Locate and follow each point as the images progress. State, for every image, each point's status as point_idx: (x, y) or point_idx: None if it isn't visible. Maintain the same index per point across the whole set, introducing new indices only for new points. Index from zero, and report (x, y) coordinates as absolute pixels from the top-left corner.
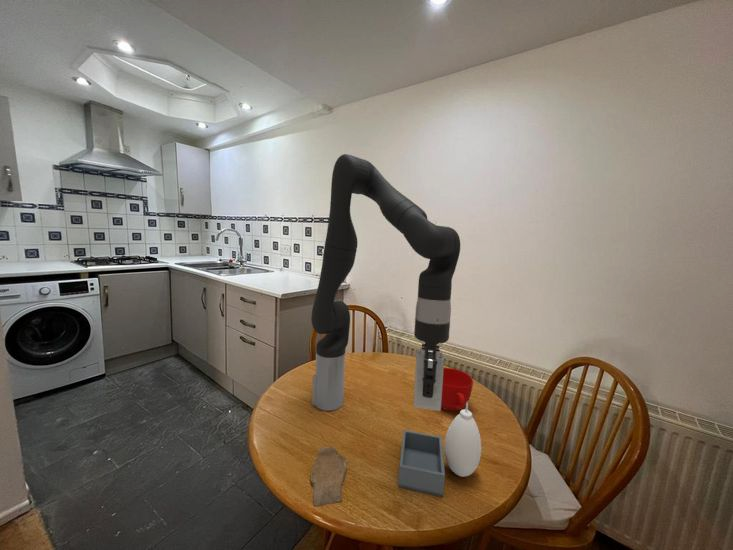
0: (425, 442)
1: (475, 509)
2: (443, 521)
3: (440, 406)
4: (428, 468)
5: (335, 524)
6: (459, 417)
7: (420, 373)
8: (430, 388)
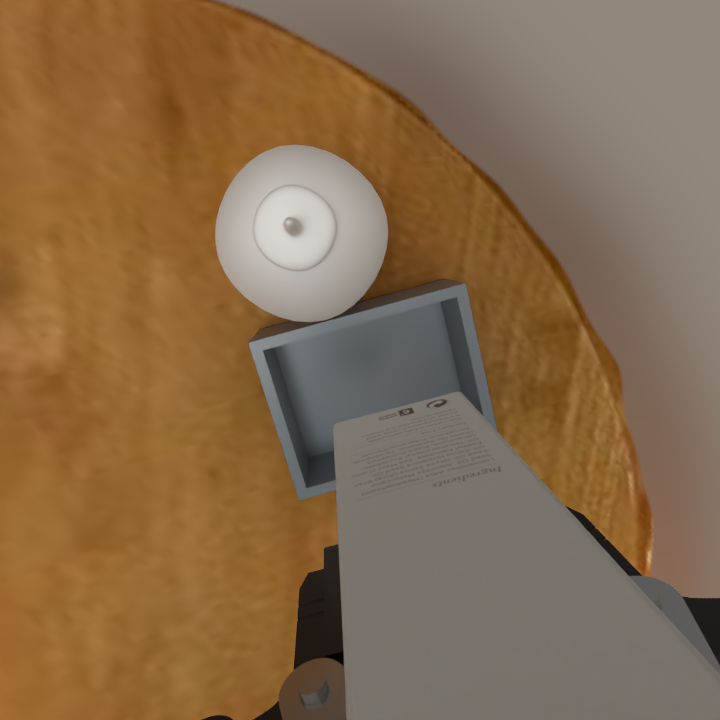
0: (282, 396)
1: (438, 170)
2: (524, 259)
3: (469, 403)
4: (362, 350)
5: (650, 510)
6: (324, 268)
7: None
8: (617, 559)
